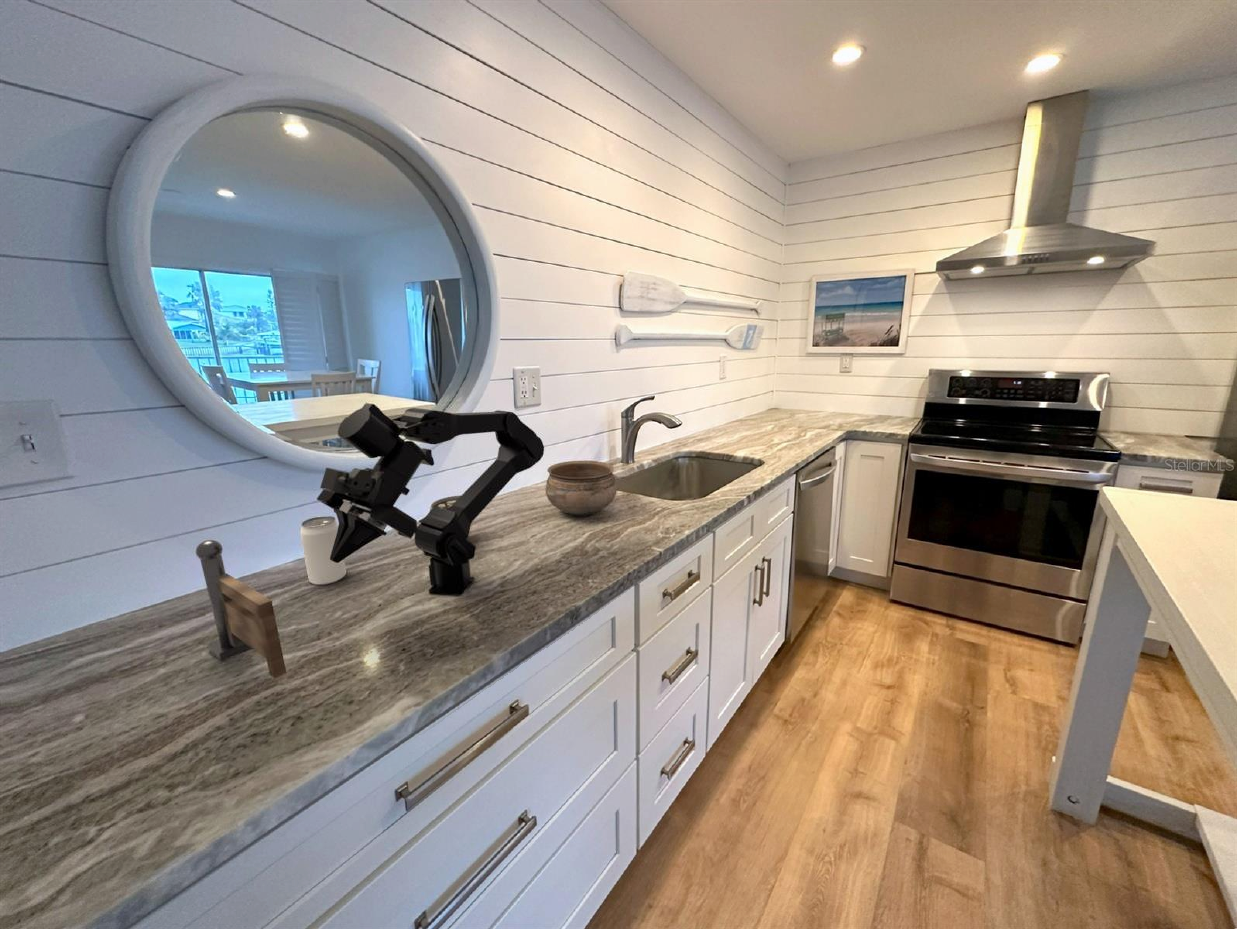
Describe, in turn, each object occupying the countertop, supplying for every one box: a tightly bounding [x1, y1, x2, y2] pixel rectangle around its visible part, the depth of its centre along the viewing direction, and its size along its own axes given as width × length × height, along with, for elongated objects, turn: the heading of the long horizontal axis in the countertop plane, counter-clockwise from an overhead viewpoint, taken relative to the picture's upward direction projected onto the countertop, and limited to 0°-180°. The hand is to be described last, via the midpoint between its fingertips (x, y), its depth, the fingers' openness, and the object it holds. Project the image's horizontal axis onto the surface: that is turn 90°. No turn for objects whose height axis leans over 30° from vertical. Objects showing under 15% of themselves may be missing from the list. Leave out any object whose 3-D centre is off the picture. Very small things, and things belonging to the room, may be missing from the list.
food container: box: [428, 494, 462, 513], centre depth 111 cm, size 12×6×10 cm, turn 5°
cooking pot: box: [545, 460, 618, 518], centre depth 132 cm, size 25×19×12 cm
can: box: [300, 515, 347, 586], centre depth 96 cm, size 6×6×12 cm
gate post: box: [195, 539, 252, 662], centre depth 73 cm, size 4×4×18 cm
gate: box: [215, 572, 287, 679], centre depth 69 cm, size 14×1×11 cm, turn 57°
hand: (333, 561), depth 74 cm, fingers closed
